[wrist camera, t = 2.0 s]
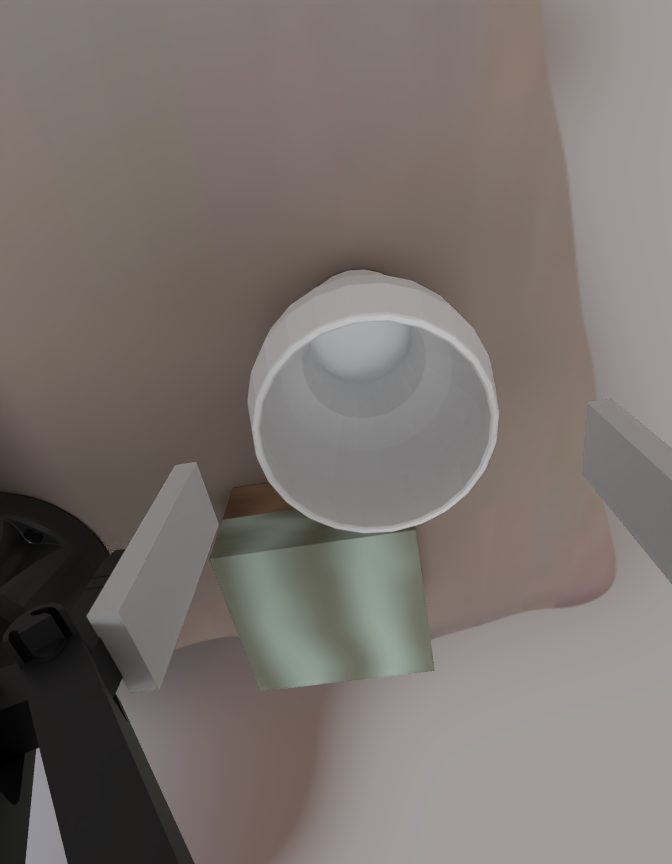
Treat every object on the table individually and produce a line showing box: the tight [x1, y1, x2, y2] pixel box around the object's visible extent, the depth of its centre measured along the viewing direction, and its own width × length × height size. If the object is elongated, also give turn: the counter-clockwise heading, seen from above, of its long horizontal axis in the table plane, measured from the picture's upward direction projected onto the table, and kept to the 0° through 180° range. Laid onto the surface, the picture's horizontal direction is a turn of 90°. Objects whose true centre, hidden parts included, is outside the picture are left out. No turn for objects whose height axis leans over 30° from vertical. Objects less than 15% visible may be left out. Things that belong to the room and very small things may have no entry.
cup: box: [247, 269, 499, 533], centre depth 26 cm, size 11×11×15 cm
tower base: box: [210, 483, 434, 691], centre depth 37 cm, size 13×13×8 cm
